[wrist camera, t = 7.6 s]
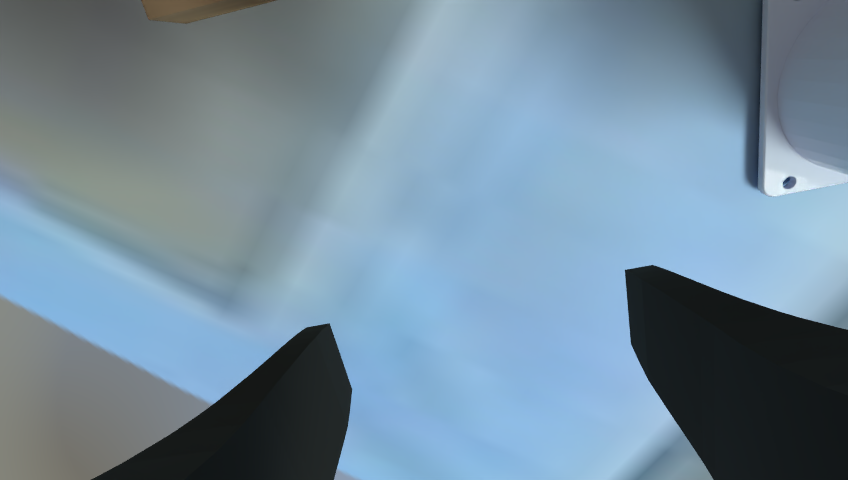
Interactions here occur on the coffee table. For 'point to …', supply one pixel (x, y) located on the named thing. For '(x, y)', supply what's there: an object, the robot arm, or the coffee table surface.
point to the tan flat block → (193, 9)
